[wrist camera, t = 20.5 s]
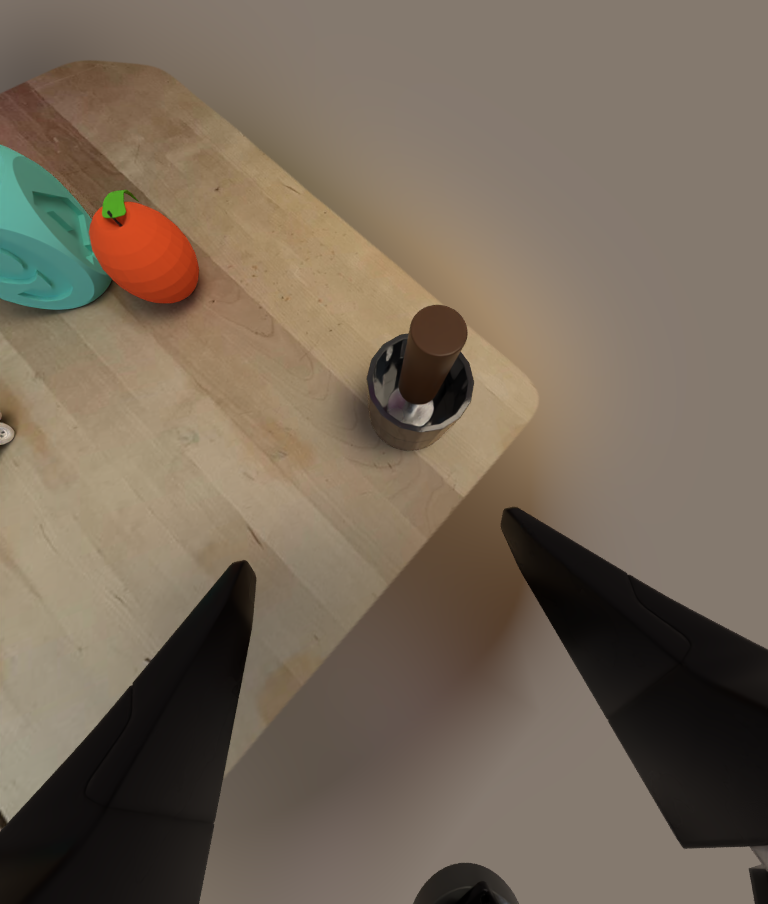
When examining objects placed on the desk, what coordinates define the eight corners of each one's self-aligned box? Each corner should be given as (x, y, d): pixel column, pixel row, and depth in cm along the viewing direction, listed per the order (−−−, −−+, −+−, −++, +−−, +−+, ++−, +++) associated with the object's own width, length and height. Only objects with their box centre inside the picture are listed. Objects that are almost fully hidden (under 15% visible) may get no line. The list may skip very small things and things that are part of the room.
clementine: (139, 254, 27) (57, 167, 20) (211, 245, 28) (156, 157, 21) (141, 325, 26) (55, 258, 19) (217, 314, 26) (161, 245, 19)
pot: (463, 424, 25) (494, 396, 19) (397, 466, 24) (405, 452, 18) (419, 361, 26) (434, 315, 20) (354, 399, 25) (347, 363, 19)
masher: (410, 441, 24) (443, 384, 13) (377, 410, 24) (380, 329, 13) (440, 410, 25) (497, 329, 13) (407, 380, 25) (435, 278, 14)
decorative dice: (108, 231, 27) (2, 121, 20) (122, 297, 26) (14, 208, 18) (23, 251, 27) (-123, 145, 19) (33, 321, 25) (-120, 238, 17)
